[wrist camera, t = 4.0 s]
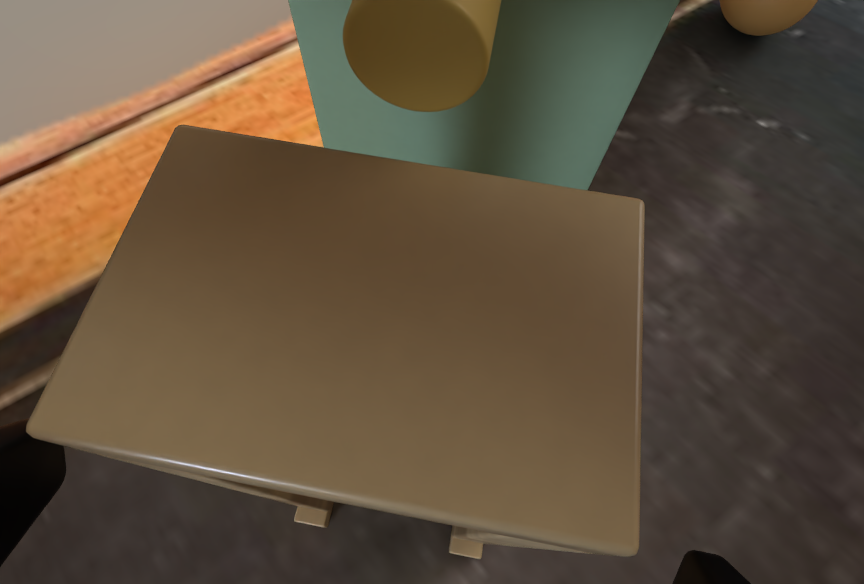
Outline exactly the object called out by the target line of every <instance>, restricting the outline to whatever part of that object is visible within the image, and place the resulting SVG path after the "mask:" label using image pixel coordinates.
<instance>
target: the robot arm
mask: <svg viewBox="0 0 864 584" xmlns="http://www.w3.org/2000/svg"><path fill="white" fill-rule="evenodd" d="M28 421H29V419H25V420H21V421H18V422H15V423H12V424H8V425H5V426H2V427H0V566H1V565H2V564H3V562H4V561H5V560H6V558H7V557H8V556H9V554H10V553H11V552H12V550H13V549H14V548H15V546H16V545H17V544H18V542H19V541H20V540H21V538H22V537H23V536H24V534H25V533H26V532H27V530H28V529H29V528H30V526H31V525H32V524H33V522H34V521H35V520H36V518H37V517H38V516H39V515H40V513H41V512H42V511H43V509H44V508H45V507H46V505H47V504H48V503H49V501H50V500H51V499H52V497H53V496H54V495H55V493H56V492H57V491H58V489H59V488H60V486H61V484H62V482H63V481H64V478H65V474H66V462H65V454H64V446H62V445H59V444H55V443H51V442H47V441H43V440H39V439H35V438H33V437H32V436H30V435H29V434H28V433H27V432H26V425H27V423H28ZM673 584H751V583H750V582H749V581H747V580H746V579H745V578H744V577H743V576H742V575H741V574H740V573H739V572H738V571H737V570H736V569H735V568H734V567H733V566H732V565H731V564H730V563H729V562H728V561H726V560H725V559H724V558H723V557H721V556H719V555H716V554H711V553H706V552H701V551H696V550H692V551H688V552H687V553H686V554H685V556H684V558H683V560H682V562H681V565H680V567H679V569H678V572H677V574H676V577H675V579H674V581H673Z"/></svg>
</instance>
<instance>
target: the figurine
mask: <svg viewBox="0 0 864 584" xmlns="http://www.w3.org/2000/svg"><path fill="white" fill-rule="evenodd" d="M817 1H818V0H720V5H721V10H722V13H723V15H724V17H725V19H726V20H727V21H728V23H729V24H730V25H731V26H732V27H734V28H735V29H736V30H738V31H740V32H742V33H745V34H749V35H756V36H762V35H770V34H774V33H777V32H780V31H783V30H785V29H787V28H789V27H791V26H792V25H794V24H795V23H797V22H798V21H800V20H801V19H802V18H803V17H804V16H805V15H806V14H807V13H808V12H809V11H810V10H811V9H812V8H813V7H814V5H815V4H816V2H817Z"/></svg>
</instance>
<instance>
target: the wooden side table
mask: <svg viewBox="0 0 864 584" xmlns="http://www.w3.org/2000/svg"><path fill="white" fill-rule="evenodd" d="M644 214H645V207H644V203H643V201H642V200H640V199H637V198H631V197H625V196H618V195H612V194H606V193H600V192H594V191H588V190H581V189H575V188H569V187H563V186H557V185H551V184H545V183H538V182H532V181H526V180H520V179H514V178H508V177H502V176H495V175H489V174H483V173H477V172H471V171H465V170H458V169H452V168H446V167H440V166H434V165H428V164H422V163H415V162H409V161H403V160H397V159H391V158H385V157H378V156H372V155H366V154H360V153H354V152H348V151H342V150H335V149H329V148H323V147H317V146H311V145H305V144H299V143H292V142H286V141H280V140H274V139H268V138H262V137H255V136H249V135H243V134H237V133H231V132H225V131H219V130H212V129H206V128H200V127H194V126H188V125H179V126H177V127H176V128H175V130H174V132H173V134H172V136H171V138H170V140H169V142H168V144H167V146H166V148H165V150H164V152H163V154H162V156H161V158H160V160H159V162H158V164H157V166H156V168H155V170H154V172H153V174H152V176H151V178H150V180H149V182H148V184H147V186H146V188H145V190H144V192H143V194H142V196H141V198H140V200H139V202H138V204H137V206H136V208H135V210H134V212H133V213H132V215H131V217H130V219H129V221H128V223H127V225H126V227H125V229H124V231H123V233H122V235H121V237H120V239H119V241H118V243H117V245H116V247H115V249H114V251H113V253H112V255H111V257H110V259H109V261H108V263H107V265H106V267H105V269H104V271H103V273H102V275H101V277H100V279H99V281H98V283H97V285H96V287H95V289H94V291H93V293H92V295H91V297H90V299H89V301H88V303H87V305H86V307H85V309H84V311H83V313H82V315H81V317H80V319H79V321H78V323H77V325H76V327H75V329H74V331H73V333H72V335H71V337H70V339H69V341H68V343H67V345H66V347H65V349H64V351H63V353H62V355H61V357H60V359H59V361H58V363H57V365H56V367H55V369H54V371H53V373H52V375H51V377H50V379H49V381H48V383H47V385H46V387H45V389H44V391H43V393H42V395H41V397H40V399H39V401H38V403H37V405H36V407H35V409H34V411H33V413H32V415H31V417H30V419H29V421H28V423H27V425H26V432H27V433H28V434H29V435H30V436H32V437H33V438H35V439H39V440H43V441H47V442H51V443H55V444H59V445H62V446H66V447H70V448H74V449H78V450H82V451H86V452H90V453H94V454H98V455H101V456H105V457H109V458H112V459H116V460H120V461H124V462H128V463H132V464H136V465H140V466H143V467H147V468H151V469H155V470H159V471H163V472H167V473H171V474H175V475H178V476H182V477H186V478H190V479H194V480H198V481H202V482H206V483H209V484H213V485H217V486H221V487H225V488H229V489H233V490H237V491H240V492H244V493H248V494H252V495H256V496H260V497H264V498H268V499H272V500H275V501H279V502H283V503H287V504H291V505H295V506H298V507H297V511H296V514H295V518H294V521H295V522H300V523H305V524H310V525H314V526H319V527H328V524H329V520H330V516H331V512H332V508H333V504H334V502H338V503H343V504H348V505H353V506H358V507H363V508H368V509H373V510H378V511H383V512H388V513H393V514H398V515H403V516H408V517H413V518H418V519H423V520H428V521H433V522H438V523H443V524H448V525H452V532H451V538H450V545H449V552H450V553H452V554H457V555H462V556H467V557H472V558H476V559H481V557H482V549H483V544H493V545H504V546H515V547H525V548H536V549H546V550H557V551H567V552H578V553H589V554H591V553H592V554H601V555H611V556H622V557H630V556H633V555H636V553H637V551H638V548H639V524H640V462H641V400H642V338H643V276H644Z"/></svg>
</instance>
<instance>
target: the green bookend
mask: <svg viewBox="0 0 864 584" xmlns="http://www.w3.org/2000/svg"><path fill="white" fill-rule="evenodd" d="M679 1H680V0H288V2H289V6H290V10H291V14H292V18H293V22H294V26H295V30H296V34H297V39H298V43H299V47H300V51H301V55H302V59H303V63H304V67H305V71H306V76H307V80H308V84H309V88H310V92H311V96H312V100H313V104H314V108H315V113H316V117H317V121H318V125H319V129H320V133H321V137H322V141H323V145H324V148H329V149H335V150H342V151H348V152H354V153H360V154H366V155H372V156H378V157H385V158H391V159H397V160H403V161H409V162H415V163H422V164H428V165H434V166H440V167H446V168H452V169H458V170H465V171H471V172H477V173H483V174H489V175H495V176H502V177H508V178H514V179H520V180H526V181H532V182H538V183H545V184H551V185H557V186H563V187H569V188H575V189H581V190H588V188H589V186H590V184H591V182H592V180H593V178H594V176H595V174H596V172H597V170H598V168H599V166H600V164H601V162H602V159H603V157H604V155H605V153H606V151H607V149H608V147H609V145H610V143H611V141H612V139H613V137H614V135H615V133H616V131H617V129H618V127H619V125H620V122H621V120H622V118H623V116H624V114H625V112H626V110H627V108H628V106H629V104H630V102H631V100H632V98H633V96H634V94H635V92H636V90H637V87H638V85H639V83H640V81H641V79H642V77H643V75H644V73H645V71H646V69H647V67H648V65H649V63H650V61H651V59H652V57H653V55H654V52H655V50H656V48H657V46H658V44H659V42H660V40H661V38H662V36H663V34H664V32H665V30H666V28H667V26H668V24H669V22H670V20H671V17H672V15H673V13H674V11H675V9H676V7H677V5H678V3H679Z"/></svg>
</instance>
